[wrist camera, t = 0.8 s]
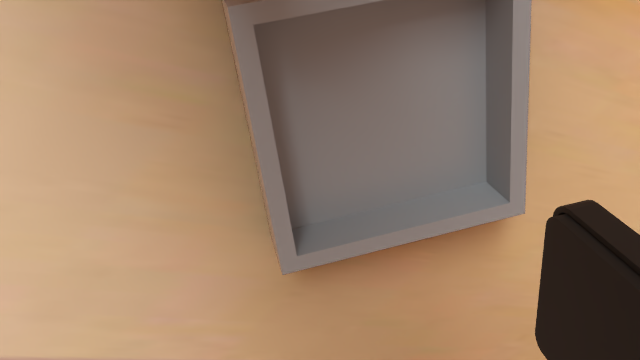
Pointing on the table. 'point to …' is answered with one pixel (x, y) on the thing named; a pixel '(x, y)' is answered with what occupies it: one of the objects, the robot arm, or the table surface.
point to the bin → (382, 118)
